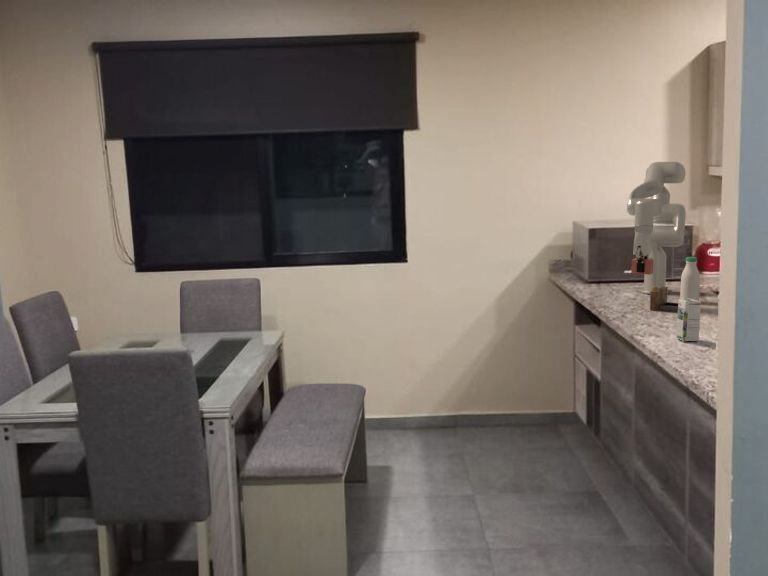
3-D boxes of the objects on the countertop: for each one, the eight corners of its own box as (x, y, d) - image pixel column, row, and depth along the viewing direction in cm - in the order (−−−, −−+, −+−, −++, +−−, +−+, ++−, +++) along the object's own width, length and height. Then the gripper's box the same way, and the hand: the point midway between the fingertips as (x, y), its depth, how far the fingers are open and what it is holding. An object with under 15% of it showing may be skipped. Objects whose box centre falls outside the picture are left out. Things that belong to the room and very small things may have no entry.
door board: (661, 304, 328) (662, 282, 327) (667, 305, 327) (668, 282, 325) (649, 310, 317) (650, 286, 315) (655, 311, 315) (656, 287, 314)
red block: (634, 271, 330) (635, 256, 328) (653, 273, 325) (653, 258, 324) (631, 273, 326) (631, 258, 325) (649, 274, 321) (650, 259, 320)
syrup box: (675, 339, 267) (677, 298, 265) (691, 338, 268) (693, 298, 265) (683, 342, 262) (685, 301, 259) (699, 342, 262) (701, 301, 260)
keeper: (665, 306, 324) (665, 301, 324) (694, 309, 317) (694, 304, 317) (658, 309, 318) (658, 305, 317) (687, 313, 310) (687, 308, 310)
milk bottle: (700, 304, 328) (702, 258, 324) (681, 303, 329) (683, 258, 326) (696, 300, 335) (699, 256, 332) (678, 300, 337) (680, 256, 333)
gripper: (641, 227, 331) (640, 268, 334) (628, 230, 318) (626, 273, 321) (659, 227, 326) (657, 269, 330) (646, 231, 313) (644, 274, 316)
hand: (642, 271), depth 325 cm, fingers closed on red block, 4 cm apart
